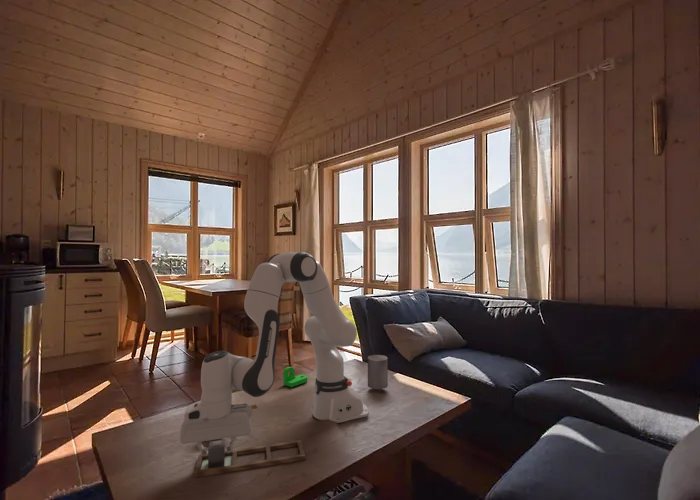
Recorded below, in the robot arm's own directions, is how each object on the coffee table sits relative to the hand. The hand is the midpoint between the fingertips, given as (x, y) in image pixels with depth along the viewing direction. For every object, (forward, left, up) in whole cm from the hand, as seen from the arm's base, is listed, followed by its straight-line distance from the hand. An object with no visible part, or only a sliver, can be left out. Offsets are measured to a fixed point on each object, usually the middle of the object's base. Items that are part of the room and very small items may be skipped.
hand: (216, 452), depth 110 cm
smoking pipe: (-3, -18, -4) cm, 19 cm away
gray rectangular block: (0, 0, -3) cm, 3 cm away
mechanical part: (-32, -65, -4) cm, 72 cm away
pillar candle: (-69, -48, -4) cm, 84 cm away
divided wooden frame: (-10, 0, -4) cm, 11 cm away
